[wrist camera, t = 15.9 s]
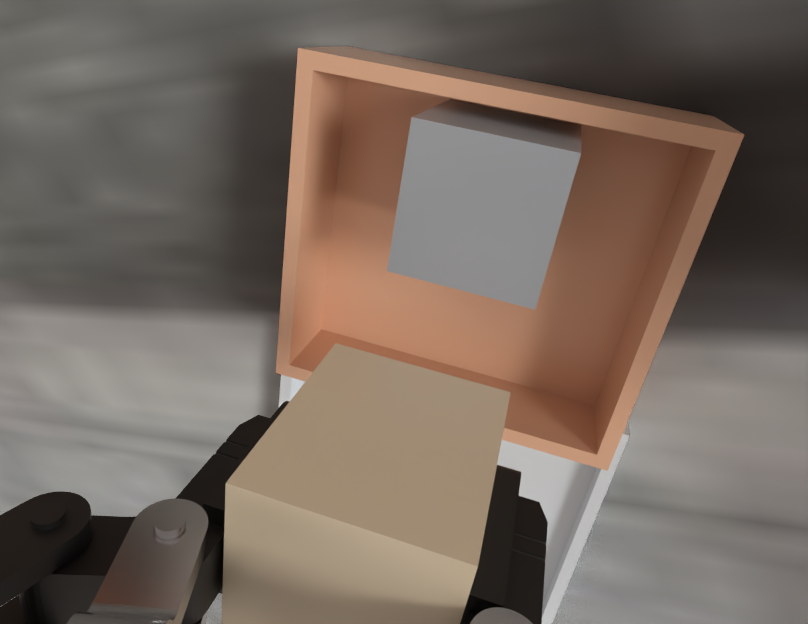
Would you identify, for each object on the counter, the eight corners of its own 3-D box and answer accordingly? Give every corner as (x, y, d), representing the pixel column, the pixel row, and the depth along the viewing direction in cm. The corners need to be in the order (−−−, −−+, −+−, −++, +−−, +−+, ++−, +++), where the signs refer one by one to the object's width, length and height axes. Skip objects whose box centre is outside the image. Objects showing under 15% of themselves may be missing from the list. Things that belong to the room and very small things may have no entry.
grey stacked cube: (581, 125, 18) (581, 153, 14) (545, 250, 20) (535, 309, 16) (450, 98, 19) (411, 116, 15) (427, 222, 21) (386, 271, 17)
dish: (713, 115, 18) (744, 134, 15) (603, 405, 23) (607, 471, 20) (347, 46, 20) (297, 47, 17) (318, 326, 25) (275, 373, 22)
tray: (627, 418, 23) (629, 435, 22) (549, 610, 28) (548, 632, 27) (295, 325, 26) (283, 337, 24) (279, 518, 31) (269, 535, 30)
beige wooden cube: (510, 392, 13) (477, 566, 9) (471, 526, 15) (429, 723, 11) (335, 342, 14) (225, 483, 10) (319, 477, 16) (221, 644, 12)
